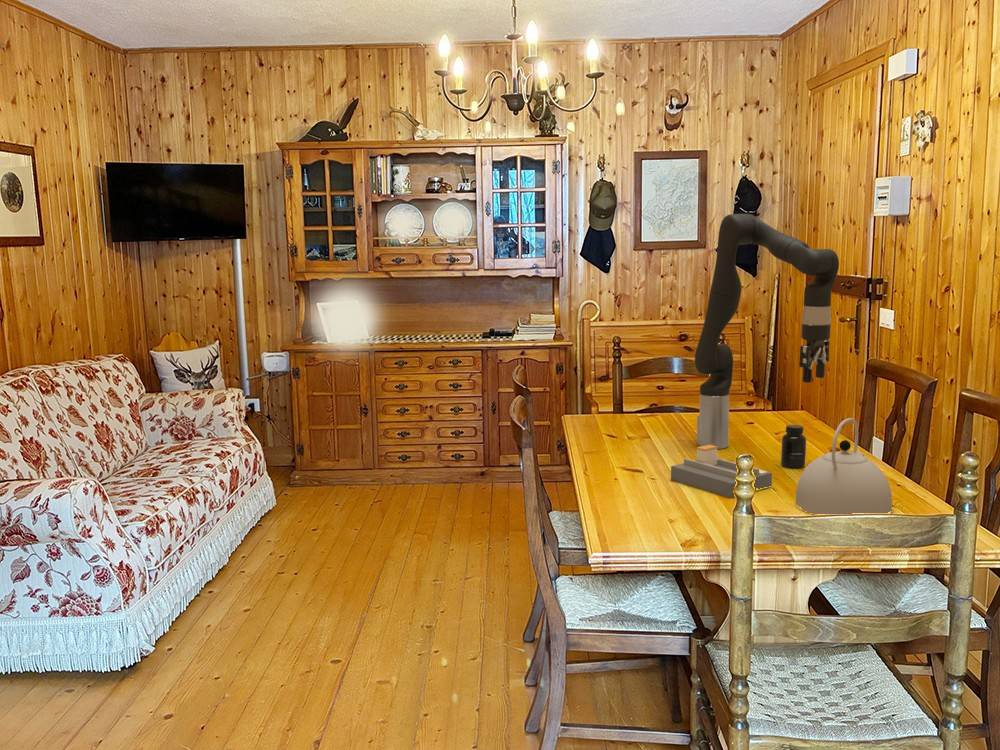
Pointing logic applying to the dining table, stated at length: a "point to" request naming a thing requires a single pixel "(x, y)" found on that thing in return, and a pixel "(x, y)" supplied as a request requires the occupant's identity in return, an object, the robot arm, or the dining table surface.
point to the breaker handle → (707, 454)
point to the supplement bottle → (793, 447)
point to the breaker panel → (715, 476)
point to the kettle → (843, 482)
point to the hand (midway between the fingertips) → (813, 379)
